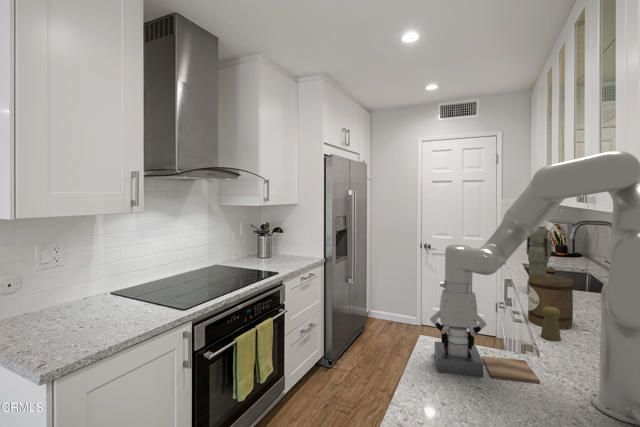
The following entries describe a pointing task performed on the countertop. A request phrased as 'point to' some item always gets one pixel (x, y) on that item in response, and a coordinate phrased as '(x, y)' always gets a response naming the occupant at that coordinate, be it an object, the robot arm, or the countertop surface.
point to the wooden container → (550, 297)
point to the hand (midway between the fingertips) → (457, 346)
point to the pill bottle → (457, 342)
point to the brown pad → (509, 369)
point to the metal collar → (458, 362)
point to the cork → (551, 324)
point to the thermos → (538, 252)
